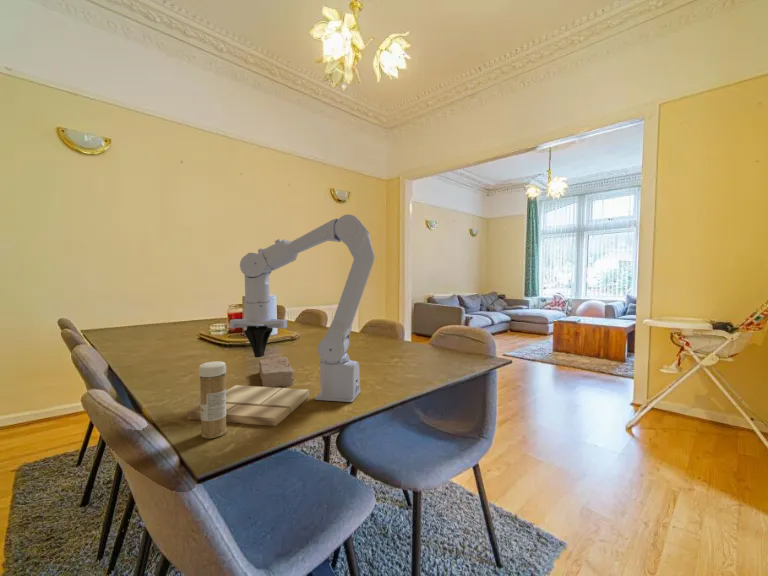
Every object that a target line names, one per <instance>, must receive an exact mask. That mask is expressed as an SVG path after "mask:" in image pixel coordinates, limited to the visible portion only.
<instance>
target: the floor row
mask: <svg viewBox="0 0 768 576" xmlns="http://www.w3.org/2000/svg"><path fill="white" fill-rule="evenodd" d="M290 414H291V413H290V406H277V405H263V404H249V403H235V402H226V423H231V422H232V424H233V423H234V424H246V425H255V426H258V425H259V426H268V427H270V426H271V427H277V426H278V425H279V424H280V423H282V422H283V421H284V420H285V419H286V418H287V417H288V416H289V415H290ZM187 419H188V420H197V421H198V420H199V421H201V408H200V404H199V405H197V406H195V407H193V408H191V409H190V410H188V411H187Z"/></svg>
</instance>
